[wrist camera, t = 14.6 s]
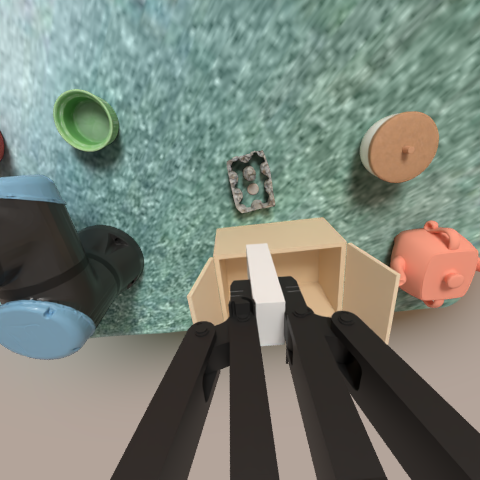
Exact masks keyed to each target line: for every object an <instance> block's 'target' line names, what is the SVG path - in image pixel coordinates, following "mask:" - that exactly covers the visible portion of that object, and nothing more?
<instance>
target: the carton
mask: <svg viewBox="0 0 480 480" xmlns="http://www.w3.org/2000/svg"><path fill="white" fill-rule="evenodd" d="M263 243H267V244H268V248H269V251H270V254H271V257H272V261H273V264H274V267H275V270H276V273H277V277H284V276H292V277H293V278H294V279H295V280H296V281H297V283H298V286H299V288H300V291H301V293H302V295H303V297H304V300H305V302H306V305H307V306H308V307H309V308H311V309H312V310H313V312H314V313H315V314H317V315H320V316H325V317H331V316H332V315H333V313H335V312H337V311H342V298H343V284H344V271H345V258H346V245H347V242H346V241H345V239H344V238H343V237H342V236H341V235H340V234H339V233H338V232H337V231H336V230H335V229H334V228H333V227H332V226H331V225H330V224H329V223H328V222H327V221H326V220H325V219H324V218H323V217H322V218H312V219H303V220H293V221H284V222H275V223H265V224H256V225H246V226H237V227H227V228H218V229H217V231H216V238H215V246H214V254H213V258H214V264H215V270H216V276H217V282H218V288H219V294H220V301H221V307H222V313H223V319H224V321H226V320H227V319H228V318H229V307H228V304H229V301H230V285H231V284H232V282H233V281H234V280H248V275H247V256H246V245H248V244H263Z"/></svg>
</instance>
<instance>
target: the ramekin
mask: <svg viewBox="0 0 480 480" xmlns="http://www.w3.org/2000/svg"><path fill="white" fill-rule="evenodd" d="M53 117H54V122H55V125H56V127H57V130H58V132H59V133H60V135H61V136H62V137H63V139H64V140H65V141H66V142H67V143H69V144H70V145H71V146H73V147H74V148H76V149H79V150H82V151H86V152H93V151H98V150H100V149H102V148H104V147H105V146H107V145H109V144H111V143H112V142H113V141H114V140H115V138H116V137H117V134H118V130H119V122H118V118H117V115H116V113H115V111H114V110H113V108H112V107H111V106H110V105H109V104H108V103H107V102H106V101H104V100H103V99H101V98H99V97H97V96H95V95H93V94H91V93H89V92H87V91H84V90H79V89H74V90H69V91H66V92H64V93H63V94H61V95H60V96H59V97H58V99H57V100H56V102H55V104H54V109H53Z"/></svg>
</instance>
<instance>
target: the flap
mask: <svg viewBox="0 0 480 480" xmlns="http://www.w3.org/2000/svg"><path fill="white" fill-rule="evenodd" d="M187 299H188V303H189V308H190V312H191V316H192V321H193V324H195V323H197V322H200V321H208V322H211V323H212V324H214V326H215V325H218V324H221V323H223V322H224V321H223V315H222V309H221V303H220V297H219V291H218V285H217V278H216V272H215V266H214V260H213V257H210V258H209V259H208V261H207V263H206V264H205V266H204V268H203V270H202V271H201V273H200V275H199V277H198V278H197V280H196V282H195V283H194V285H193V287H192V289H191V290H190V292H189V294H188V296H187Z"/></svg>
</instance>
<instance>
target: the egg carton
mask: <svg viewBox="0 0 480 480" xmlns="http://www.w3.org/2000/svg"><path fill="white" fill-rule="evenodd" d="M254 152H256V153H257V154H258V156H260V157H263V158H264V162H262V163H261V165H260V170H261V173H262V174H264V175H266V176H267V177H268V179H267V180H265V182H264V187H265V191H266V192H267V193H268V194H269V198H268V202H267V203H262V202H261V201H260V200H254V201H253V202H252V204H251V207H248V208H247V207H246V206H245V205H243V204H239V202H240V201H241V200H242V198H243V195H242V191H241V190H240V189H239V188H234V187H235V184H236V183H237V182H238V176H237V173H236V172H235V171H231V170H232V168H231V165H232V163H233V162H235V161H237V160H239V161H240V162H244V163H247V162H248V161H249V160H250V159H251V156H252V155H253V153H254ZM227 170H228V175H229V180H230V184H231V188H232V193H233V198H234V202H235V205H236V208H237V209H238V210H239V211H240V212H241V213H245V212H249V211H254V210H257V209H261V208H268V207H272V206H275V201H274V194H273V187H272V180H271V173H270V169H269V166H268V163H267V160H266V158H265V155H264V153H263V150H262V151H253V152H250V154H246V155H244V156H240V157H238V156H235V157H233V159H231V160H229V161H227ZM255 175H256V173H255V170H254V168H253V167H251V166H246V167H245V168H244V169H243V177H244V178H245V179H246V180H247V181H252V180H255V178H256V176H255ZM247 191H248V193H249V194H251V195H255V194H256V193H258V191H259V187H258V185H257V184H255V183H252V184H250V185H249V186H248V188H247Z"/></svg>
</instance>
